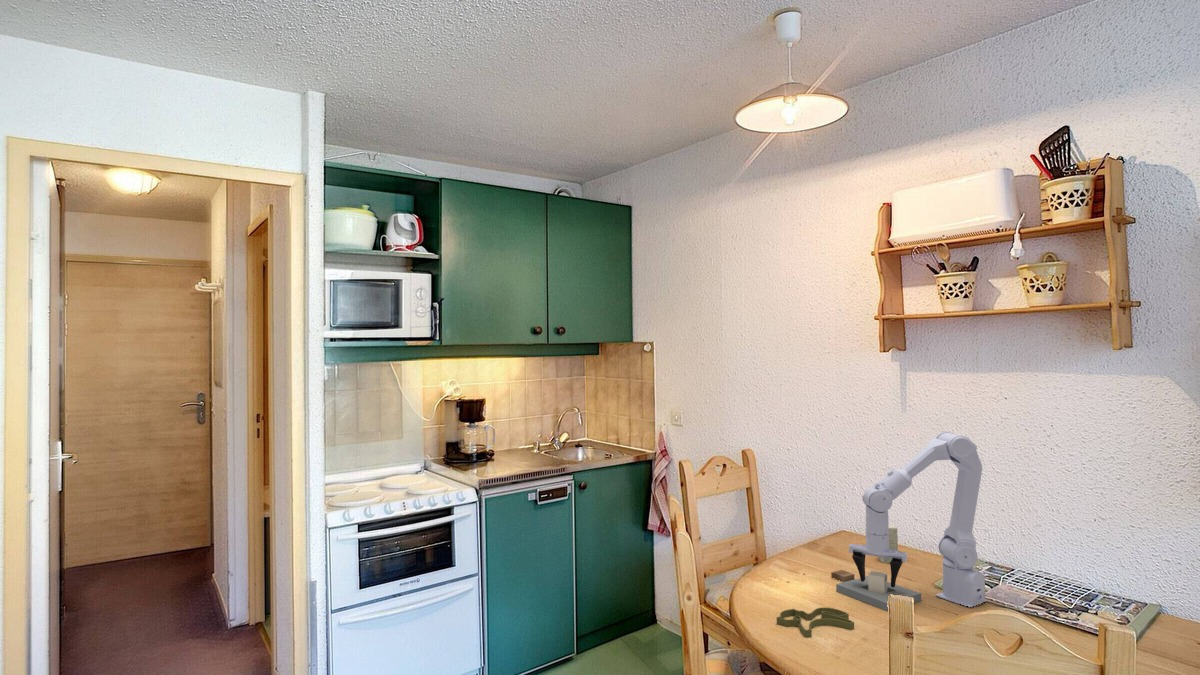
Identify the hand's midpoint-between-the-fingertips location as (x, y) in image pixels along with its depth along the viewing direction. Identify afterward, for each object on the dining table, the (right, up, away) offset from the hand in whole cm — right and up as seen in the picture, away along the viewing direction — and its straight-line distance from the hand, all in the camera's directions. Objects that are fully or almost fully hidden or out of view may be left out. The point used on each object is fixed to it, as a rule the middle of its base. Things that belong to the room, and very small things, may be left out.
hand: (877, 583), depth 174 cm
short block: (-4, -4, +14) cm, 15 cm away
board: (0, -3, 0) cm, 3 cm away
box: (+16, -5, +30) cm, 34 cm away
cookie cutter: (-23, -4, -18) cm, 30 cm away
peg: (0, -4, 0) cm, 3 cm away
